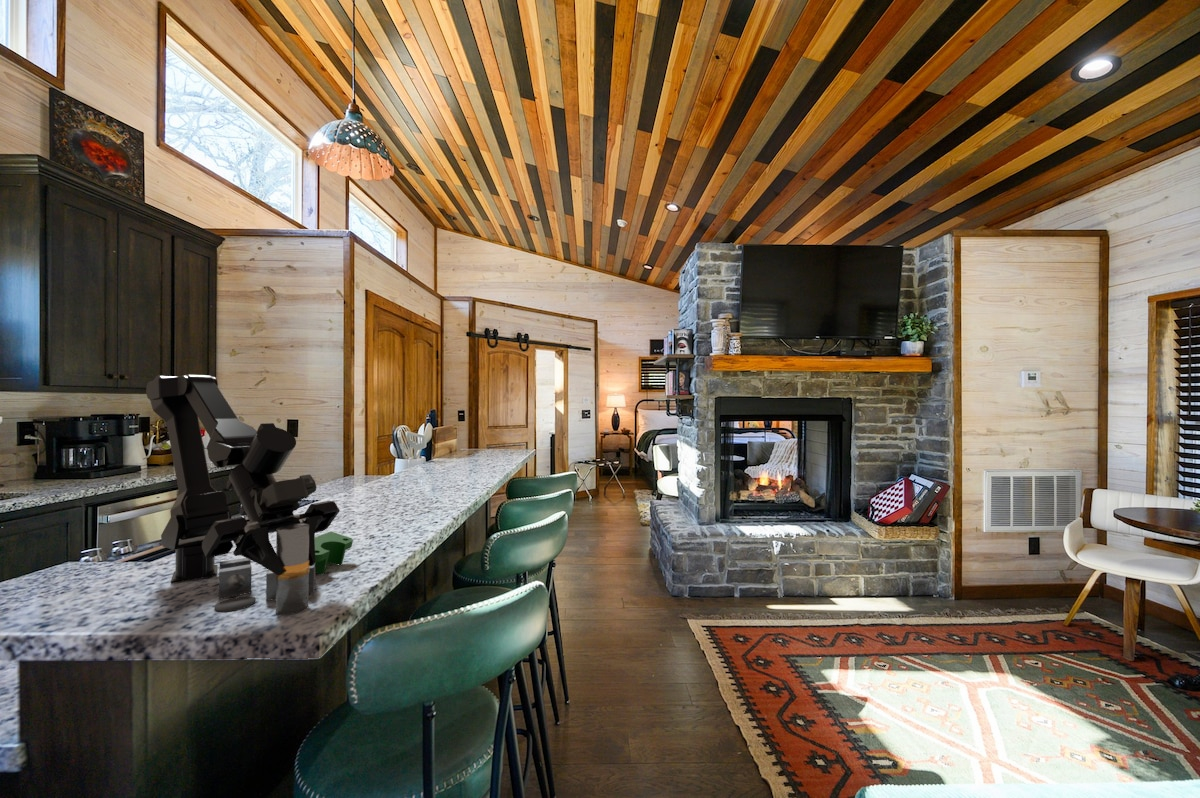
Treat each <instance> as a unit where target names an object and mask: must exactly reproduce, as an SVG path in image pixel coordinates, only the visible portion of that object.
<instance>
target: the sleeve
mask: <svg viewBox="0 0 1200 798" xmlns="http://www.w3.org/2000/svg"><path fill="white" fill-rule="evenodd" d="M275 539H276V541H275V542H276V548H275V552H276V554H277V556H278V558H279V560H280V562H281V564H282V567H283V570H284V571H283V573H282V575H279V576H278V575H276V574H275V578H276V599H275V614H276V615H278V616H279V615H280V616H288V615H289V616H290V615H295V614H298V613H301V612H303V611H305V610H307V609H308V608H309V597H310V596H309V595H310V594H309V572H310V559H309V524H289V525H284V526H280V527H278V528H277V532H276V538H275Z"/></svg>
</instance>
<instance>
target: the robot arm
mask: <svg viewBox="0 0 1200 798" xmlns="http://www.w3.org/2000/svg"><path fill="white" fill-rule="evenodd" d="M218 386H219V383H218V380H217V377H215V376H212V375H210V374H209V375H207V374H189V373H187V374H185V375H179V376H172V375H169V376H168V375H156V376H155V378H154V379H153V380H150V381H148V382H147V384H146V388H145V389H146V390H145V391H146V392H145V393H146V398H147V399H148V400H149V402H150V404H151V408H152V411H153V412H154V413H155V414H156V415H158V417H159V418H161V420H163V421H164V422H165V423H166V427H167V433H168V439H169V445H170V450H171V455H172V462H173V467H174V473H175V477H176V479H175V480H176V483H177V488H178V496H177V497H176V500H175V502H174V503H173V506H171V508H170V518H169V520H168V522H167V523H166V525H165V527H164V529H163V531H162V532H161V535H160V539H161V545H162V547H163V548H166V549H170V550H173V551H174V550H175V571H173V574H172V577H171V580H170V583H171V584H175V583H181V582H188V581H193V580H198V579H199V580H200V579H204V578H205V579H206V578H212V577H216V576H218V564H215V560H216V557H219V556H223V555H228V554H229V553H230V552H231V550H232V549H233V548H234V544H235V548H234V551H233V552H232V554H233V555H234V556H235V557H238V556H241V557H243V558H248V559H250V560H251V562H254V563H257V564H258V565H260V566H262V567H264V568H265V569H267V571H268V570H270V571H272V572H273V573H275V574H276V575H278V576H279V575H282V573H283V571H284V570H283V567H282V564H281V562H280V560H279V558H278V556H277V554H276V549H274V547H273V545H272V543H271V542H270V536H269V534H272V533H277V528H278V527H280V526H284V525H289V524H309V559H310V566H313V565H314V564H315V562H316V559H315V537H316V536H315V534H316V533H320V532H324V531H325V530H327V529H328V528H329V527H330V525H331V524H332V523H333V521H334V520H335V518H336V517H337V515H338V514H339V513H340V511H341V510H340V508H339V506H338V505H337V503H336V502H335V501H334V500H325V501H324V500H323V501H319V502H315V503H310V505H309V506H308V507H307V509H306V510H305V512H304V513H299V514H294V511H297V510H298V509H299V508H300V503H299V502H301V501H302V500H304V499H307V498H309V496H310V495H312V494H313V493H315V492H316V491H317V484H316V481H315V479H314V478H313V477H312V475H311V474H302V475H299V476H298V477H296V478H292V479H286V480H279V481H277V479H276V478H275V476H274V474H276V473H278V472H280V471H281V470H282V468H283V467H284V465H285V464H286V462H287V460H288V459H289V457H290V455H291V454H292V452H293V451H294V449H295V447H296V445H297V440H296V437H295V435H293V434H291V433H290V432H289V431H287V430H285V429H282V428H279V427H277V426H276V425H275V423H274V422H267V423H260V425H259V426H258V427H257V430H256V428H254V426H252V425H249V424H247V423H245V422H242V421H241V420H240V419H239V418H238V417H237V415H236V413H235V412H234V410H233V408H232V407H231V406H230V403H228V401H227V399H226V398H225V397H224V395H223V392H221V390H220V389H219V387H218ZM200 422H201V424H202V425H203V428H204V429H205V431H206V433H207V435H208V437H209V440H208V444H207V445H206V450H207V456H208V459H209V461H210V462H212V464H213V465H214V466H215V467H216V468H217V469H218V468H220V469H221V468H222V469H223V468H233V469H232V470H231V472H230V473H229V475H228V481H227V482H226V490H227V491H230V490H234V492H235V494H236V495H237V498H238V499H239V502H240V504H241V507H240V508H239V514H240V516H237V517H232V513H231V511H230V508H229V507H228V503H227V495H226V493H225V492H224V491H223V490H220V491H217V490H216V489H215V488H213V486H212V484H211V478H210V473H209V468H208V463H207V458H206V452H205V447H204V446H205V445H204V443H203V441H204V440H203V435H202V430H201V426H200ZM245 515H246V516H247V519H248V520H249V521H247V519H246V517H243V516H245Z"/></svg>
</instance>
